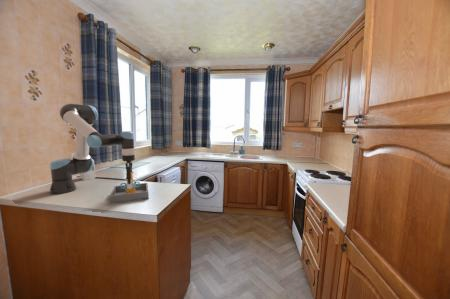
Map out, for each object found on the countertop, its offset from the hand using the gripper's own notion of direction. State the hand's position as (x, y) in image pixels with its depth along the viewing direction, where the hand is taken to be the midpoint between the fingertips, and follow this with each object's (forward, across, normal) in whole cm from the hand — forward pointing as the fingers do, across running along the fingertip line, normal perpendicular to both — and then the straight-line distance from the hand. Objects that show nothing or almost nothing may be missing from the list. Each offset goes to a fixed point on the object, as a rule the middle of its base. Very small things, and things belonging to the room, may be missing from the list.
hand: (130, 185), depth 137 cm
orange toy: (+6, 0, 0) cm, 6 cm away
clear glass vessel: (+8, +67, +39) cm, 78 cm away
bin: (+7, 0, 0) cm, 7 cm away
